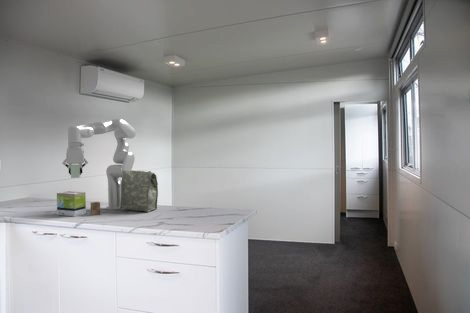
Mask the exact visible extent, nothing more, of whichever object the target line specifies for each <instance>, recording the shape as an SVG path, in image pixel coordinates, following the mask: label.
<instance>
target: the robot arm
mask: <svg viewBox="0 0 470 313" xmlns="http://www.w3.org/2000/svg"><path fill="white" fill-rule="evenodd" d="M111 132H113V136H114V138H115V140H116V142H117V144H116V148H115V151H114V154H113V156H112V161H113V163H115V164H110V165H108V166H107V168H106V170H105V172H106V177H107V195H108V196H107V198H108V199H107V200H108V202H107V203H108V206H106V207H105V209H106V210H109V211H113V210H115V211H116V210H122V209H123V208H120V202H121V181H122V175H123V173H124V171H125V170H126V171H131V170H132V169H133V166H134V164H135V161H136V160H135V158H136V156H135V154H134V153H133V152H132V151H130V150H129V149H130V144H129V142H128V140H129V139H134V138H135V137H136V135H137V132H136V129H135V128H134V127H133V126H132V124H130V123H128V122H127V121H126V120H125V119H123V118H119V117H118V118H110V119H105V120H101V121H95V122H92V123H87V124H86V123H85V124H81V125H69V126H68V127H67V148H66V154H65V155H66V156H65V159H64V160H63V161H62V165H63V166H65V167H66V168H67V169H68V174H69V176H71V165H78V164H79V165H80V176H81V175H82V174H83V168H84V167H86V166H87V165H88V164H89V161H88V160H87V159H86V158H85V153H84V152H85V151H84V148H83V147H85V143H82V139H83V138H84V139H86V138H87V139H88V138H92V137H93V136H94V135H104V134H106V133H111ZM127 139H128V140H127Z"/></svg>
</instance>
